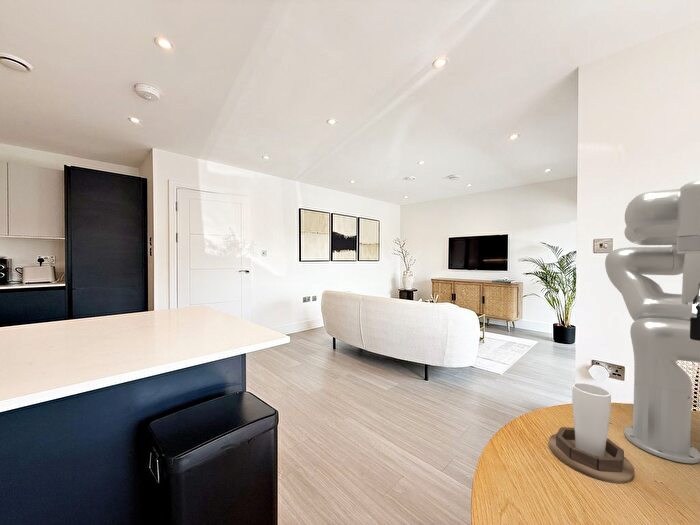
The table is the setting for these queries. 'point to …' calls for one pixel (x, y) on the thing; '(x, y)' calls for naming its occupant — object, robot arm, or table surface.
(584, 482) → the table surface
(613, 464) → the glass holder
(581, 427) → the drinking glass
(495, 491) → the table surface
